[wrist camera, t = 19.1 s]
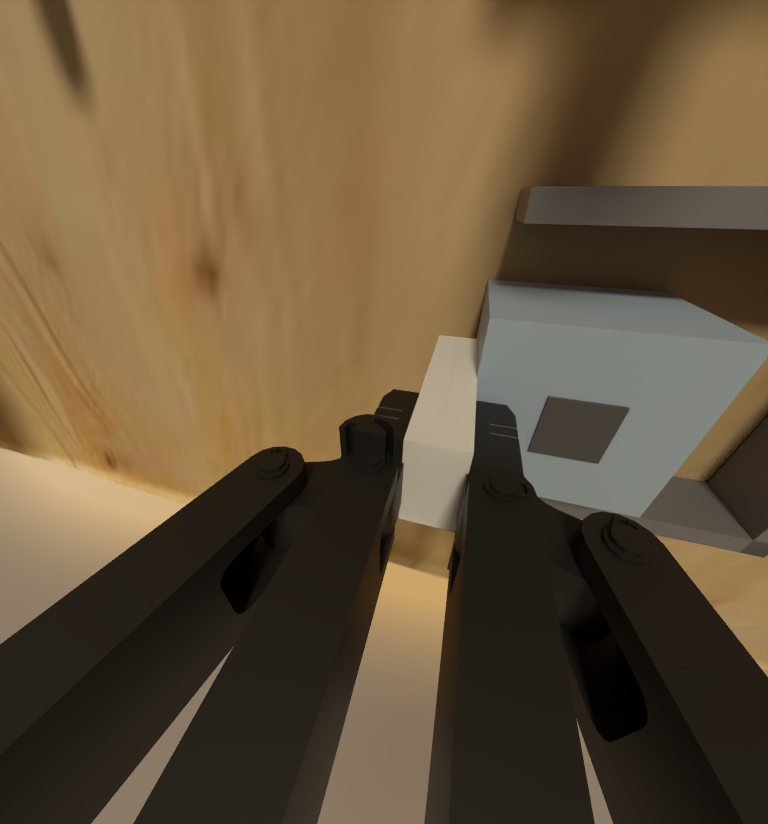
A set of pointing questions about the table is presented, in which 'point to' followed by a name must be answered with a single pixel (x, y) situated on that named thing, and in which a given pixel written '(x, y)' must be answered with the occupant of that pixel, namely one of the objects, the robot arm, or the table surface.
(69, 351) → the table surface
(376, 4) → the table surface
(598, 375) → the block
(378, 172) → the table surface
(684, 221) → the corral
